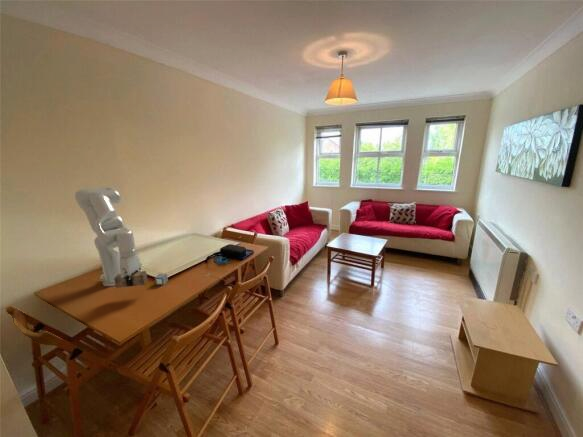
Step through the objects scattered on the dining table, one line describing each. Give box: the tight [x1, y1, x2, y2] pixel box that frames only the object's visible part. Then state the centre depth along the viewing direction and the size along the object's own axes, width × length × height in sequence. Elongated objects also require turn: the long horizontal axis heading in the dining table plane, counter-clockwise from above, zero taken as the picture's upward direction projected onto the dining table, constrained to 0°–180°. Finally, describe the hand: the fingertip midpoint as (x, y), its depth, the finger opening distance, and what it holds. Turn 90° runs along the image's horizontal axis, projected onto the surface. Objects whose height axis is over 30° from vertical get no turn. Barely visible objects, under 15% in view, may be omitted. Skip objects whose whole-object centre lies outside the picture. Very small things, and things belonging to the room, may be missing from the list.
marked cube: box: [154, 273, 169, 286], centre depth 149 cm, size 5×5×5 cm
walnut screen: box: [114, 270, 148, 289], centre depth 133 cm, size 14×5×6 cm, turn 103°
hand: (134, 282), depth 134 cm, fingers closed on walnut screen, 5 cm apart
